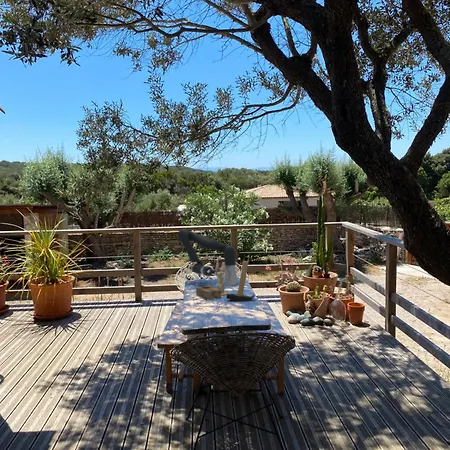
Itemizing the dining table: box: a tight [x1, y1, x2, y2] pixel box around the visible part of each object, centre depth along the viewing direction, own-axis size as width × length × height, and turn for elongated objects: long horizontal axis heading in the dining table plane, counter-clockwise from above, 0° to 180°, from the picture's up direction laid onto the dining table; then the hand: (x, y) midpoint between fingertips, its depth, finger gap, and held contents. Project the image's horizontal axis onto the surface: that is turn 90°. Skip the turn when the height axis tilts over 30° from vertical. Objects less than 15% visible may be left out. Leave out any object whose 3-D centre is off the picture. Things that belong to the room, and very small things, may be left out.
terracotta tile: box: [221, 290, 230, 297], centre depth 335 cm, size 8×12×1 cm, turn 29°
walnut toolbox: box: [195, 285, 222, 301], centre depth 327 cm, size 12×18×6 cm, turn 29°
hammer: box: [225, 260, 255, 302], centre depth 312 cm, size 20×5×30 cm, turn 91°
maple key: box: [216, 271, 225, 293], centre depth 334 cm, size 4×4×16 cm
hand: (215, 273), depth 341 cm, fingers open, 8 cm apart
